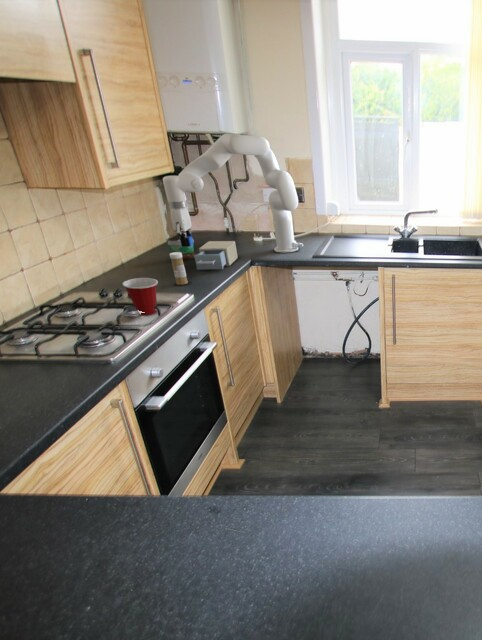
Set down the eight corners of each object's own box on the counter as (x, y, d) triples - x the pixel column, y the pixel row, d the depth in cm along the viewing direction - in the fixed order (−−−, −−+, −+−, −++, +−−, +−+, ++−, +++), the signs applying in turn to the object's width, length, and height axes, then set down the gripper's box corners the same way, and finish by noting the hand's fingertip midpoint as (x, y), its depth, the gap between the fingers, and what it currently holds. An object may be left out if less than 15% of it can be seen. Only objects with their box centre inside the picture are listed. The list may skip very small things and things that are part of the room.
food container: (177, 262, 232) (172, 242, 228) (171, 260, 235) (166, 240, 231) (202, 257, 241) (198, 238, 237) (195, 255, 244) (191, 236, 240)
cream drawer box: (229, 265, 229) (226, 248, 226) (202, 266, 228) (198, 248, 224) (237, 257, 242) (235, 241, 239) (212, 257, 241) (208, 241, 237)
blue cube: (193, 244, 222) (191, 235, 220) (190, 246, 218) (188, 237, 216) (184, 244, 221) (182, 235, 219) (181, 246, 218) (179, 238, 216)
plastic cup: (156, 318, 169) (148, 286, 164) (125, 318, 169) (115, 286, 163) (170, 307, 179) (162, 276, 174) (140, 307, 178) (132, 276, 173)
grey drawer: (219, 272, 217) (216, 257, 214) (193, 272, 215) (190, 258, 212) (230, 261, 233) (228, 247, 230) (206, 261, 232) (203, 247, 229)
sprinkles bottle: (175, 283, 204) (167, 252, 198) (186, 281, 207) (179, 251, 201) (178, 286, 201) (171, 255, 195) (189, 283, 204) (182, 253, 198)
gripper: (176, 201, 218) (185, 240, 226) (161, 208, 204) (172, 250, 212) (193, 201, 219) (202, 240, 227) (180, 208, 204) (189, 249, 213)
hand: (187, 244), depth 219 cm, fingers closed on blue cube, 4 cm apart
